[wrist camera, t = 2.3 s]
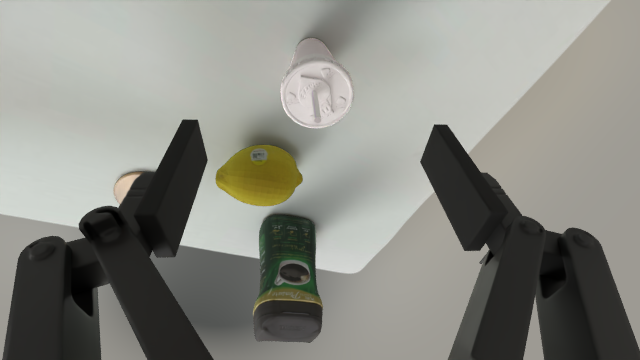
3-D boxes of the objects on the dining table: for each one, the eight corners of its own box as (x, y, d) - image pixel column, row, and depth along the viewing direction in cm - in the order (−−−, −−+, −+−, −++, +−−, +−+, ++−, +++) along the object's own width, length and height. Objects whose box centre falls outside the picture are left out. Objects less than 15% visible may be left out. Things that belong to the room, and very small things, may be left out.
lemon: (308, 141, 40) (311, 181, 34) (294, 182, 45) (295, 223, 39) (225, 124, 37) (213, 164, 32) (220, 169, 42) (209, 212, 37)
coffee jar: (256, 237, 54) (245, 349, 40) (265, 209, 49) (256, 326, 35) (307, 244, 56) (313, 351, 43) (320, 218, 51) (332, 330, 38)
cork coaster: (129, 217, 48) (128, 220, 47) (103, 171, 41) (101, 174, 41) (193, 217, 49) (193, 220, 48) (178, 171, 42) (177, 174, 42)
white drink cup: (318, 9, 29) (334, 65, 19) (351, 62, 33) (379, 132, 23) (269, 49, 32) (260, 118, 21) (305, 93, 35) (312, 170, 25)
